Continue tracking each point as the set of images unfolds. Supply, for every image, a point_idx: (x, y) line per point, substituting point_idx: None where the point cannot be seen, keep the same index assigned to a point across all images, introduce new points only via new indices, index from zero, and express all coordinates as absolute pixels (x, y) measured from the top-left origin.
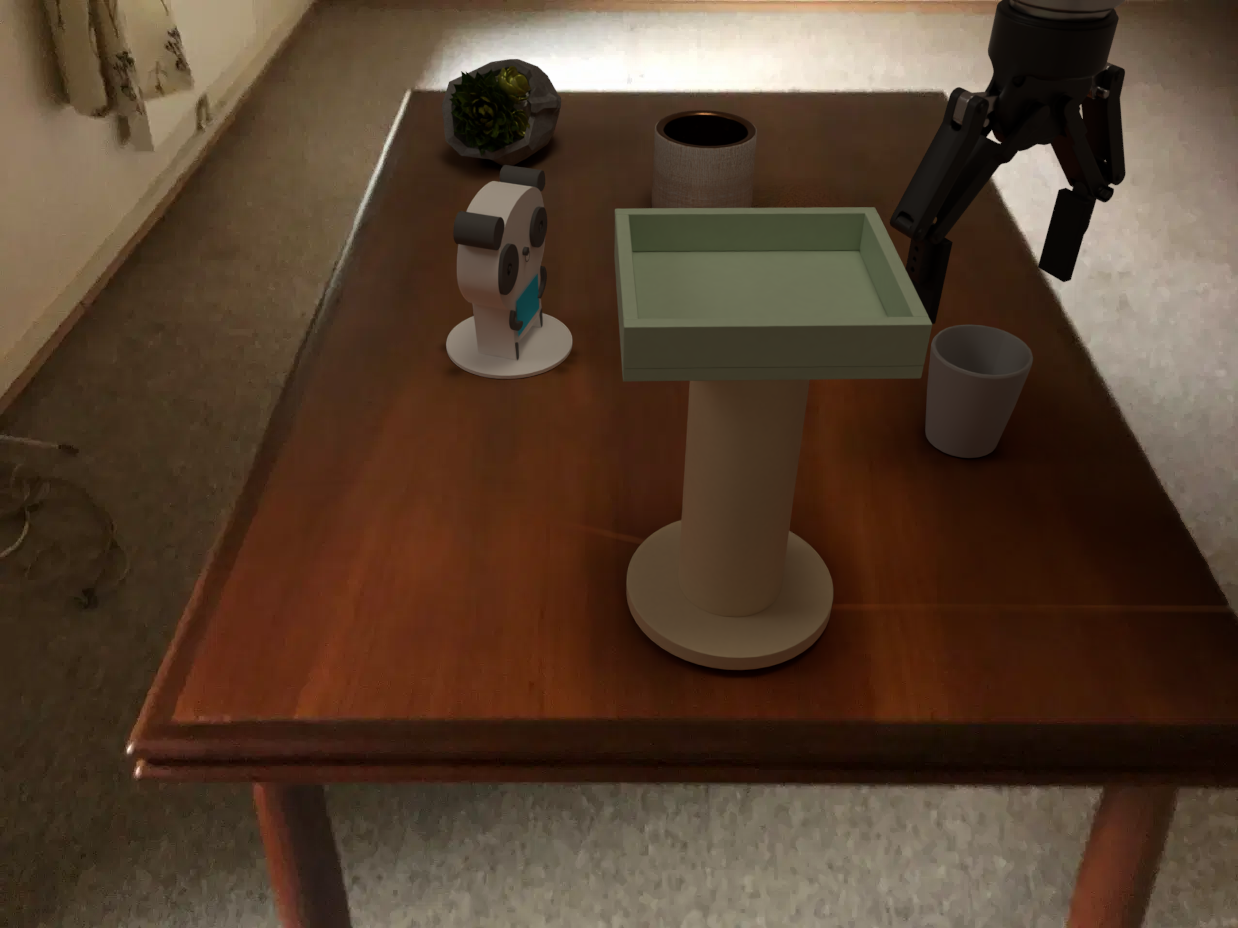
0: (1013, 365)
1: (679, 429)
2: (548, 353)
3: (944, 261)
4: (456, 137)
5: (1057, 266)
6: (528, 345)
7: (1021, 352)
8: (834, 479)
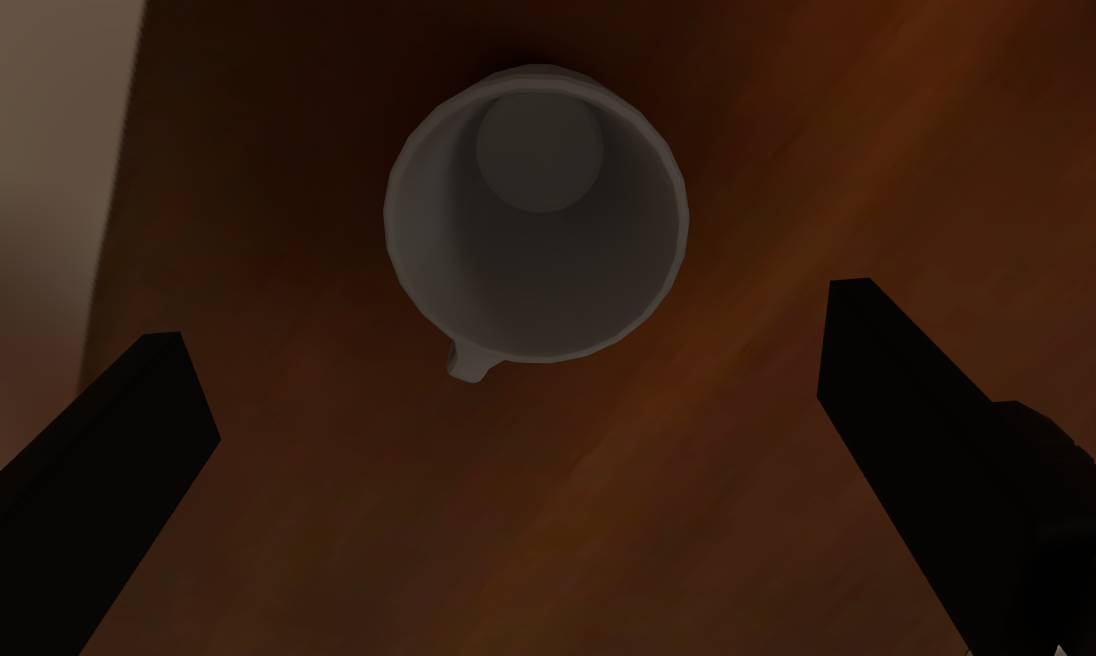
0: (420, 191)
1: (1020, 387)
2: None
3: (1003, 444)
4: None
5: (174, 396)
6: (1058, 647)
7: (407, 194)
8: (888, 135)
